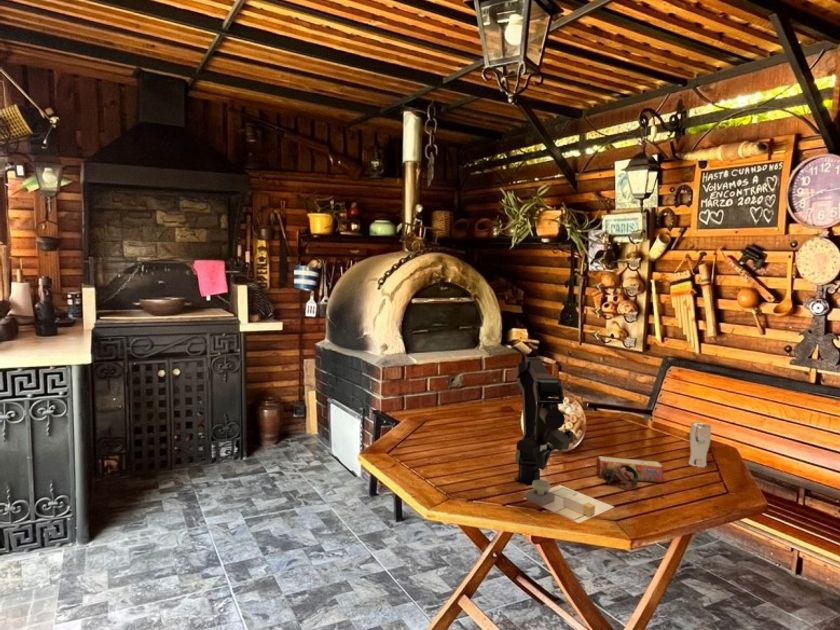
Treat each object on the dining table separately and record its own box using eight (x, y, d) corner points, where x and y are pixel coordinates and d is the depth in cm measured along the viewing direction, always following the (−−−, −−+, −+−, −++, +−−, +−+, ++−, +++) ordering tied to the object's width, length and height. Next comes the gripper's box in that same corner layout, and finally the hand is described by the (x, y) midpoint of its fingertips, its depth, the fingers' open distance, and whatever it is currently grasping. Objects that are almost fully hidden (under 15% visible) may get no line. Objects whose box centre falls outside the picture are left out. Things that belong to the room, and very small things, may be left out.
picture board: (523, 500, 179) (523, 498, 179) (559, 486, 190) (559, 484, 190) (578, 525, 164) (578, 522, 164) (614, 508, 175) (614, 506, 175)
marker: (562, 505, 174) (563, 496, 174) (568, 503, 176) (569, 493, 176) (588, 517, 167) (589, 507, 167) (594, 514, 169) (595, 504, 169)
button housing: (525, 501, 178) (526, 491, 178) (538, 496, 182) (539, 487, 182) (541, 508, 174) (542, 498, 173) (554, 503, 177) (554, 493, 177)
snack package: (658, 477, 202) (659, 458, 201) (663, 485, 196) (665, 465, 195) (595, 472, 205) (596, 453, 204) (598, 479, 198) (599, 460, 198)
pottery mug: (622, 480, 199) (635, 463, 195) (632, 502, 191) (645, 486, 187) (592, 472, 197) (604, 456, 193) (600, 495, 189) (613, 478, 185)
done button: (528, 496, 178) (528, 482, 177) (539, 492, 181) (539, 478, 181) (541, 502, 174) (542, 487, 173) (552, 498, 177) (553, 483, 177)
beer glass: (684, 464, 215) (688, 424, 214) (690, 459, 221) (694, 421, 219) (704, 469, 211) (708, 429, 209) (710, 464, 216) (714, 425, 214)
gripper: (547, 431, 163) (543, 485, 165) (586, 420, 175) (582, 471, 176) (516, 421, 171) (513, 472, 173) (556, 411, 183) (553, 459, 185)
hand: (542, 469), depth 177 cm, fingers closed
